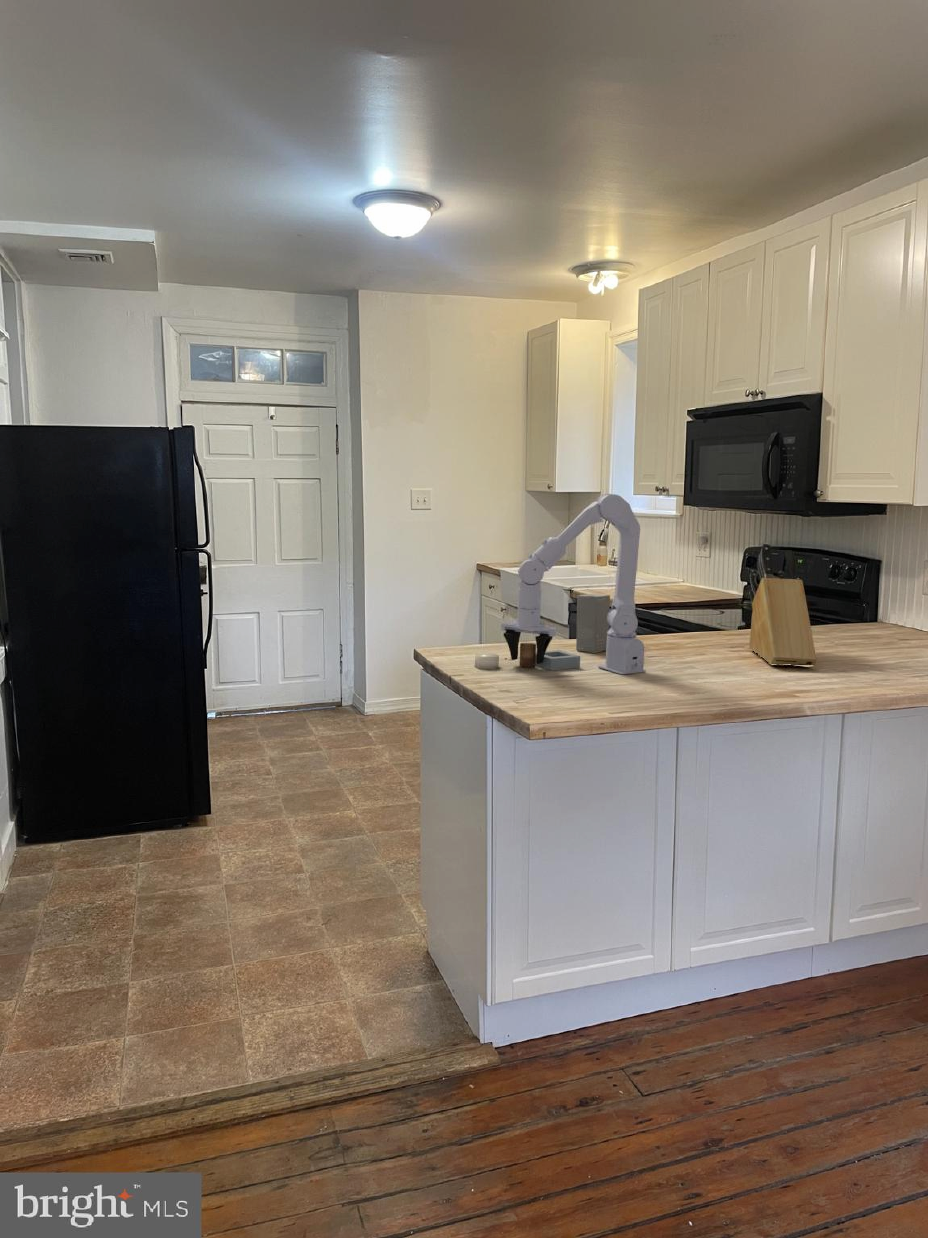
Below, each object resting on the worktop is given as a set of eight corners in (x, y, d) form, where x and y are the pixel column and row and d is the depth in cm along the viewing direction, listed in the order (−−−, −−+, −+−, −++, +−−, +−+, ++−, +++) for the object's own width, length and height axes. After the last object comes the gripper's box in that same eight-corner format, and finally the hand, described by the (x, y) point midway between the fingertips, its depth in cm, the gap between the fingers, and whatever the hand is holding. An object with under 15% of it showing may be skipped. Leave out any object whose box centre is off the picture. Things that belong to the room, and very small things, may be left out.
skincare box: (595, 654, 246) (598, 596, 244) (573, 650, 250) (575, 594, 248) (610, 649, 253) (613, 594, 250) (588, 646, 257) (590, 591, 254)
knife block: (780, 646, 265) (788, 541, 260) (816, 671, 230) (827, 551, 225) (741, 645, 266) (749, 540, 261) (771, 669, 231) (781, 549, 226)
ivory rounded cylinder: (503, 668, 225) (503, 656, 225) (483, 670, 222) (483, 658, 221) (489, 663, 230) (490, 652, 230) (470, 665, 227) (470, 653, 226)
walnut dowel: (538, 668, 225) (539, 644, 225) (525, 669, 223) (526, 645, 223) (529, 665, 229) (530, 642, 228) (516, 666, 227) (517, 643, 226)
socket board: (579, 667, 227) (580, 656, 227) (550, 670, 223) (551, 658, 222) (558, 661, 235) (559, 649, 234) (530, 664, 230) (530, 652, 230)
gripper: (562, 609, 224) (559, 662, 226) (510, 603, 231) (509, 655, 233) (550, 612, 218) (547, 666, 220) (497, 606, 225) (495, 659, 227)
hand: (526, 661), depth 226 cm, fingers open, 6 cm apart
